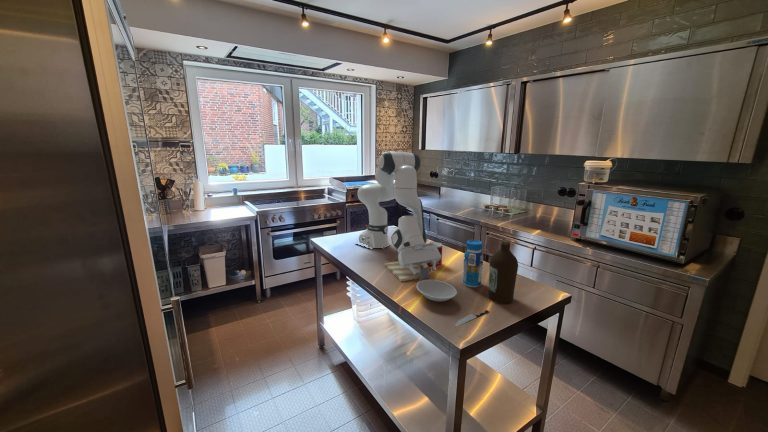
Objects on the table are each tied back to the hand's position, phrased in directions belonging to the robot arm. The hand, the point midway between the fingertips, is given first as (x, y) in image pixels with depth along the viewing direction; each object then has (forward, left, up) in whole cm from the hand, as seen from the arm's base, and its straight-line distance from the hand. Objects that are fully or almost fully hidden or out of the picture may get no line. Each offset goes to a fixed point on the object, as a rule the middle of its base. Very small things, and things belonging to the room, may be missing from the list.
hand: (425, 272), depth 135 cm
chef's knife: (+25, -16, -6) cm, 30 cm away
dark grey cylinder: (0, 0, -6) cm, 6 cm away
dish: (+10, -10, -6) cm, 15 cm away
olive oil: (+32, +5, -6) cm, 33 cm away
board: (-14, +8, -6) cm, 18 cm away
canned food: (-6, +24, -6) cm, 26 cm away
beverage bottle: (+18, +12, -6) cm, 22 cm away
